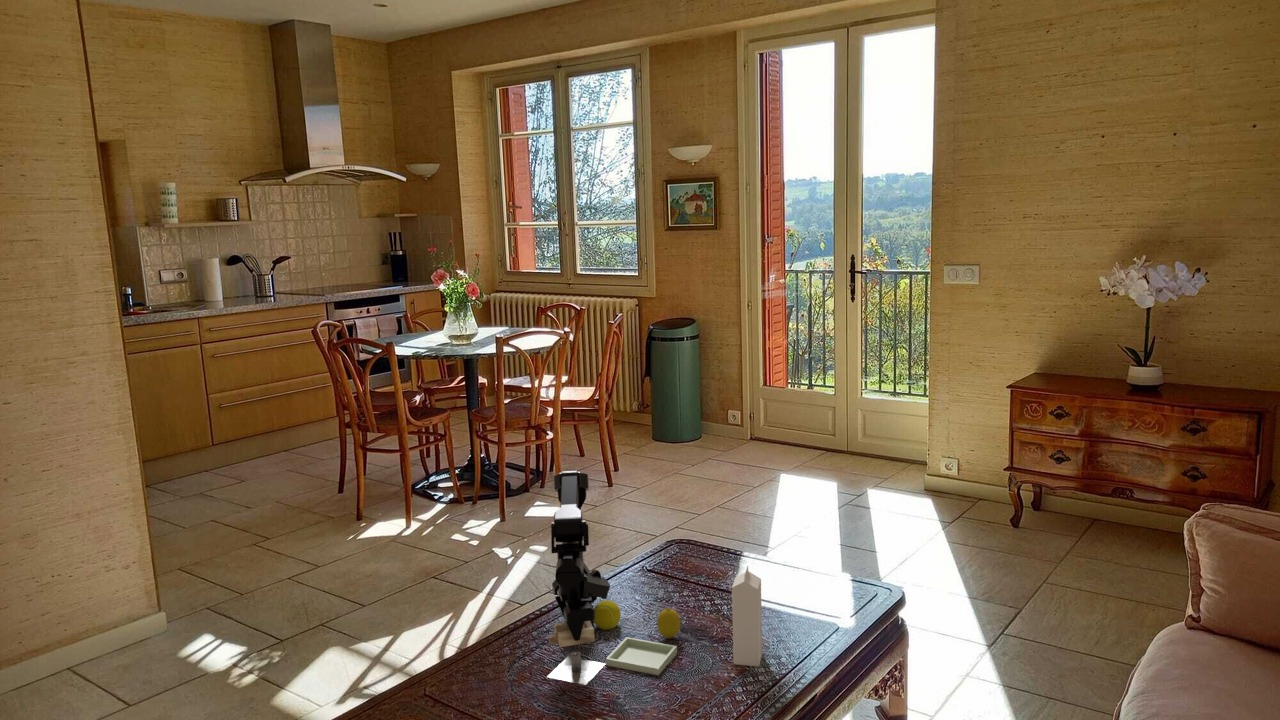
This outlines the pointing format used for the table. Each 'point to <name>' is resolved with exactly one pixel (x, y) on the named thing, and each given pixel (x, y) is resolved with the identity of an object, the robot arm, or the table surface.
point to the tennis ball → (607, 614)
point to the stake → (576, 669)
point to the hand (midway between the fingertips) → (574, 634)
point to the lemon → (668, 623)
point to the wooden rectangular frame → (566, 638)
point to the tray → (642, 656)
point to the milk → (747, 619)
